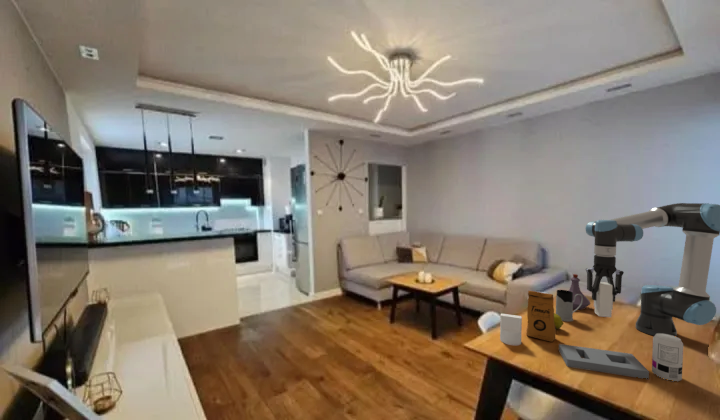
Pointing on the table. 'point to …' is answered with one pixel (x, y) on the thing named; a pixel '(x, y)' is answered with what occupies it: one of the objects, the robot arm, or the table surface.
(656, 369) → the supplement can
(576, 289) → the flask
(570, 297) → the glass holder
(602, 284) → the square peg
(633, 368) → the socket plate
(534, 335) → the coffee package
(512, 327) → the white piece
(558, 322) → the lemon
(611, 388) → the table surface
